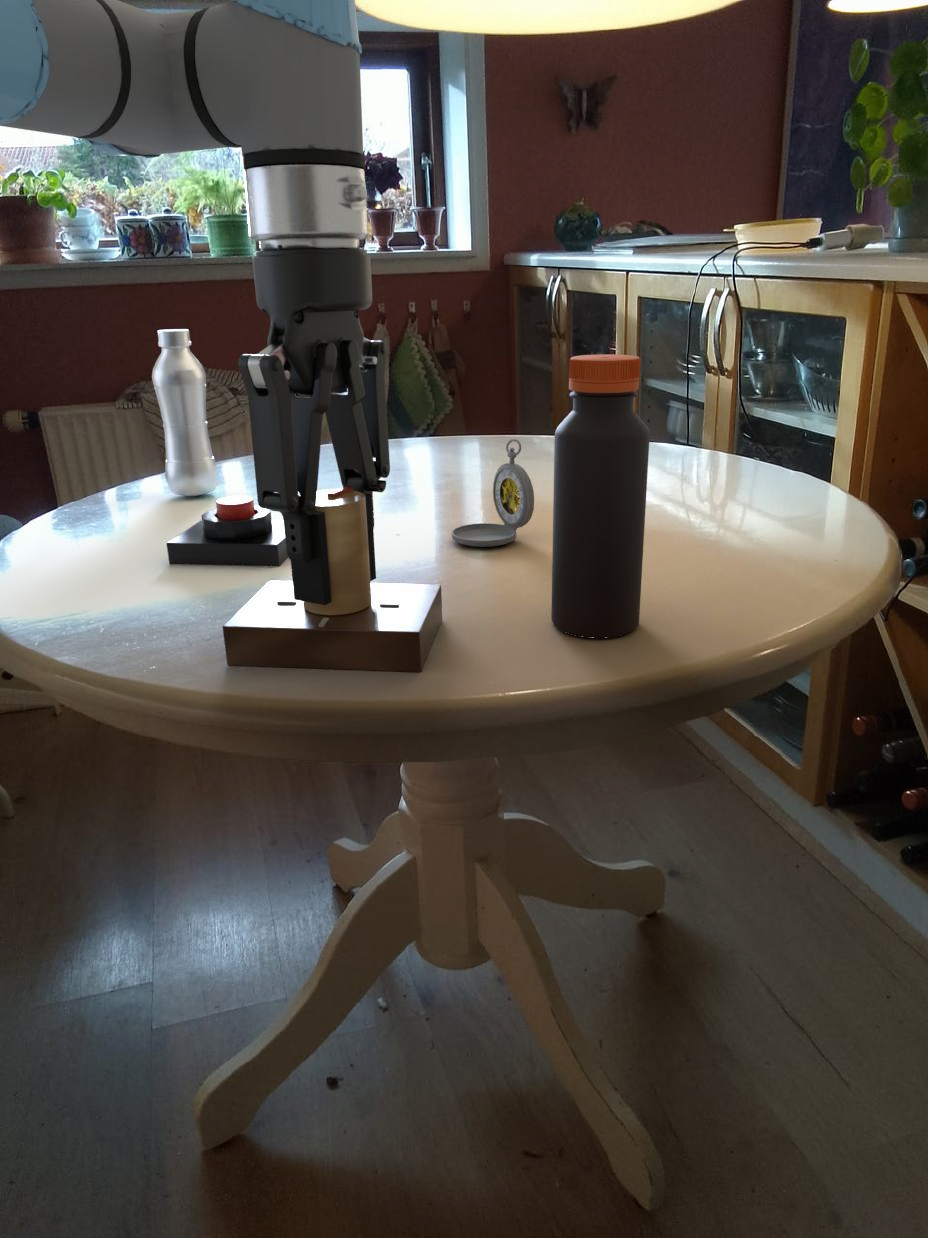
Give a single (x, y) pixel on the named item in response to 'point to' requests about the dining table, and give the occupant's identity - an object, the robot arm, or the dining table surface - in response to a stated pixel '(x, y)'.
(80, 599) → the dining table surface
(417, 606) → the knob panel
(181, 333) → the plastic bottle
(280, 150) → the robot arm
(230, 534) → the button box
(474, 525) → the pocket watch
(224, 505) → the red button
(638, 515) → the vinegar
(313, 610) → the wood knob
